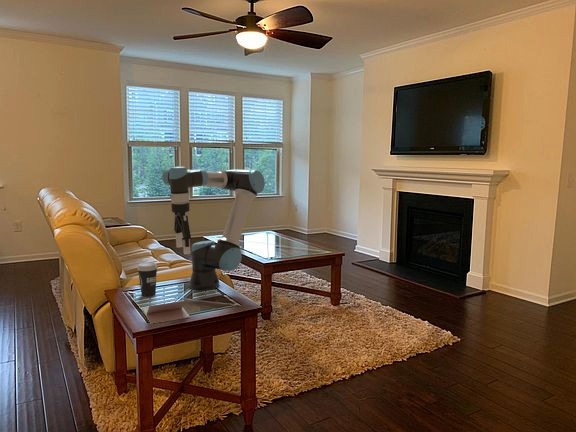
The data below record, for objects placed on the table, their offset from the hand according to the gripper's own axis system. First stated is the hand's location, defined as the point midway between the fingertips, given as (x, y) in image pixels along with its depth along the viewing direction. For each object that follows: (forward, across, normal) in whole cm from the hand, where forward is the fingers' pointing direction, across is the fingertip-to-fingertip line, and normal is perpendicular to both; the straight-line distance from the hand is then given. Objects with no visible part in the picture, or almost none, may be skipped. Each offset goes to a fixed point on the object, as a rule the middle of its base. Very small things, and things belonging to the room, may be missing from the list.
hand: (183, 250), depth 196 cm
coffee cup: (+26, -24, -13) cm, 37 cm away
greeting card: (+23, +11, -18) cm, 31 cm away
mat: (+25, +6, -11) cm, 28 cm away
